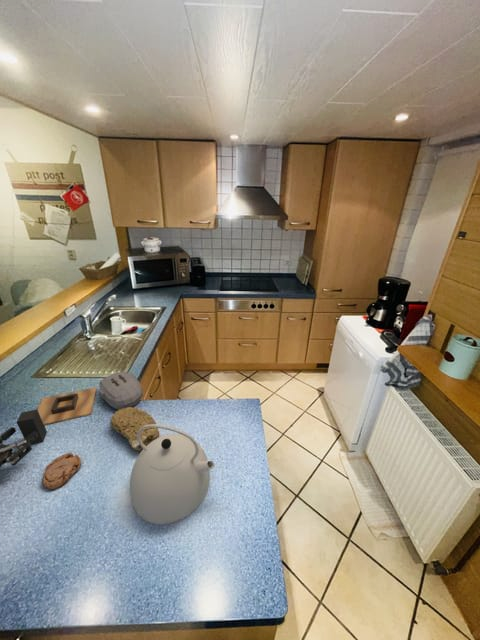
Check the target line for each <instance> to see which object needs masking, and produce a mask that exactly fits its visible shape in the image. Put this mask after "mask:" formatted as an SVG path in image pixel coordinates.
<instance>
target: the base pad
mask: <svg viewBox="0 0 480 640" xmlns="http://www.w3.org/2000/svg"><path fill="white" fill-rule="evenodd" d="M96 395H97V387H91V388H87V389H82V390H77V391H76V390H75V391H72V392H71V391H70V392H67V393H62V394H57V395H52V396H47V397H43V398H42V399H41V400H40V403H39V405H38V407H37V408H36V409H37V410H38V413H39V415H40V417H41V419H42V422H43V424H44V426H48V425H53V424H57V423H61V422H65V421H69V420H75V419H78V418H82V417H87V416H91V415H92V414H93V409H94V405H95V400H96Z"/></svg>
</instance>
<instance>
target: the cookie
mask: <svg viewBox="0 0 480 640" xmlns="http://www.w3.org/2000/svg"><path fill="white" fill-rule="evenodd" d="M81 467H82V459H81V457H80V456H79V455H78V454H75V455H74V453H73V452H66V453H64V454H63V455H60V456H58V457H56V458H54V459H53V460H52V461H51V462H49V464H47V465H46V466H45V468H44V473H43V476H42V484H43V486H44V488H45V489H46V490H55V489H58V488H61V487H62V486H63V485H64V484H65V483H68V482H69V481H70V479H71V478H72V477H73V475H74V474H75V473H76V472H77V471H79V469H81Z"/></svg>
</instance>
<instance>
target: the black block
mask: <svg viewBox="0 0 480 640" xmlns="http://www.w3.org/2000/svg"><path fill="white" fill-rule="evenodd" d="M37 409H38V408H36V409H32V410H27V411H22V412H21V413H20V414H19V416H18V419H17V420H16V425H17V427H18V429H19V431H20V433H21V435H22V437H23V440H24V439H25V438H26V437H28V436H29V435H30V434H31V433H32V432H33V431H37V433H38V437H37V438H36V439H35V440H34V441H33V442H32V443H31V444H30V445H31V446H32V445H37V444H41V443H44V441H45V438H46V436H47V434H48V431H47V429H46V427H45V426H46V425H44V424H43V422H42V419H41V417H40V415H39V413H38V410H37Z"/></svg>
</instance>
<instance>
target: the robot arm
mask: <svg viewBox="0 0 480 640" xmlns="http://www.w3.org/2000/svg"><path fill="white" fill-rule="evenodd" d="M16 432H17V430H16V427H14V426H11V427H10V428H7V429H6V430H5V431H4V432H3V433H2V434H1V435H0V468H2V467H3V465H5V464H7V463H9V464H10V465H11V466H15V465H17V464H18V463H19V462H20V461H21V460H23V458H25V456H27V455H28V453H30V452H31V451H32V450H33V447H32V445H30V444H31V443H32V442H33V441H34V440H35V439H36V438H37V437H38V433H37V431H33V432H32V433H31V434H30V435H29V436H28V437H26V438H25V439H24V438H23V440H21V441H20V442H18V443H17V442H14V443H12V444H4V441H7V440H9V438H11V437H12V436H13V435H14V434H15V433H16ZM13 449H14V450H13Z"/></svg>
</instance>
